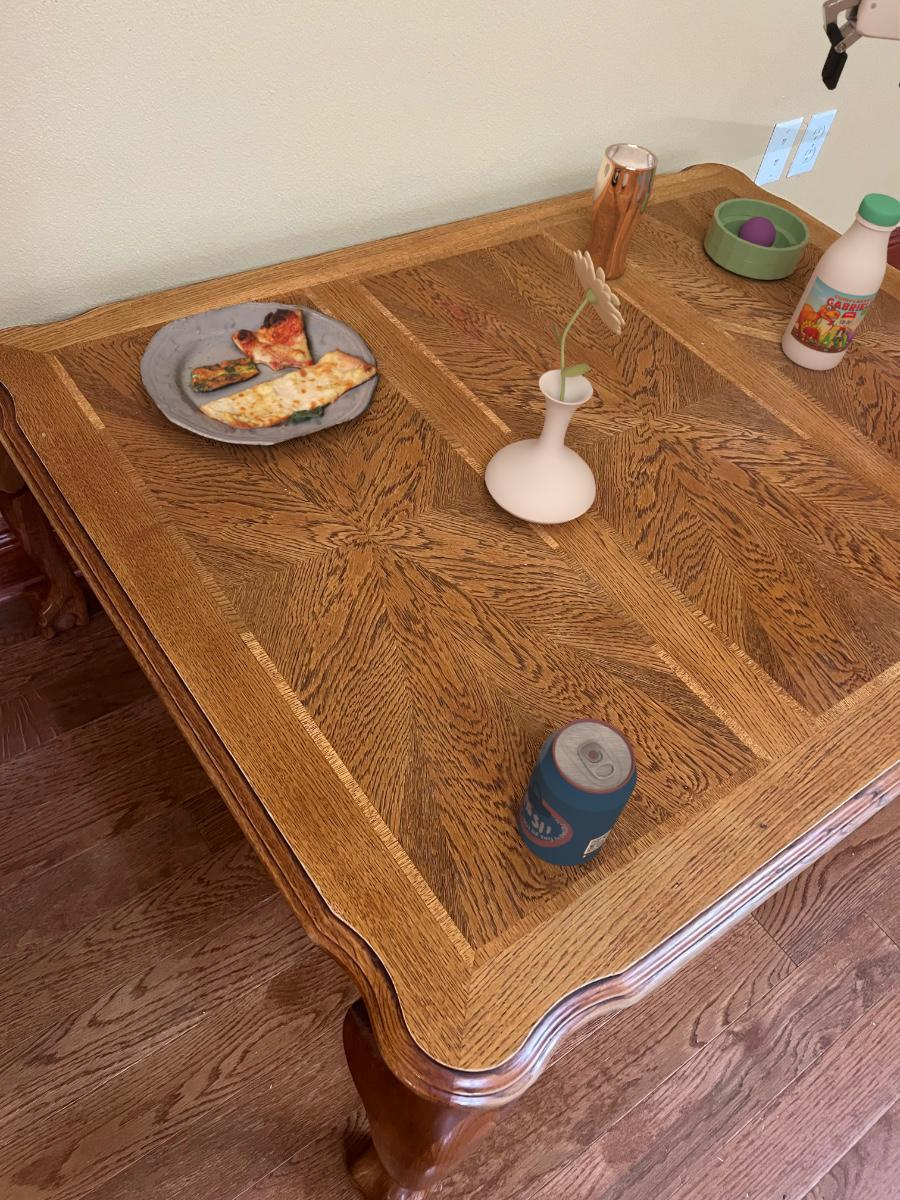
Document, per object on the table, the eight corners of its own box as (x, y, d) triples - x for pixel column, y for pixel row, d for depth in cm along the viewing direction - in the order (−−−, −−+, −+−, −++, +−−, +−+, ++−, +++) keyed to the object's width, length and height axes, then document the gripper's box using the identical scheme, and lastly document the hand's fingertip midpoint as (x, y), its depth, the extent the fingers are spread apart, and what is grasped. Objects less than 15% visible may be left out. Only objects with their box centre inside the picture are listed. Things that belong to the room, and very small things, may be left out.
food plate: (312, 298, 113) (312, 272, 111) (417, 412, 102) (420, 386, 100) (110, 352, 103) (105, 325, 100) (203, 486, 92) (200, 459, 89)
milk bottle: (767, 338, 119) (836, 186, 104) (817, 331, 122) (891, 182, 106) (801, 376, 115) (878, 223, 100) (852, 368, 117) (934, 218, 102)
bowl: (781, 235, 137) (795, 202, 133) (806, 287, 128) (821, 254, 124) (694, 227, 135) (705, 194, 131) (713, 279, 127) (726, 245, 123)
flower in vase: (597, 538, 93) (672, 324, 74) (484, 530, 92) (530, 310, 73) (584, 450, 102) (649, 236, 82) (480, 441, 101) (521, 222, 81)
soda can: (497, 814, 73) (524, 735, 64) (567, 776, 76) (603, 695, 67) (547, 889, 70) (584, 817, 61) (619, 847, 73) (664, 772, 63)
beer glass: (568, 254, 126) (594, 142, 115) (615, 251, 128) (645, 141, 117) (588, 283, 122) (617, 171, 111) (635, 280, 124) (669, 169, 113)
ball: (763, 244, 133) (775, 210, 129) (772, 263, 130) (785, 230, 126) (729, 242, 133) (740, 208, 129) (737, 261, 129) (749, 227, 126)
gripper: (999, -85, 102) (923, 81, 115) (848, -101, 101) (788, 69, 114) (1028, -62, 97) (946, 108, 111) (870, -79, 96) (805, 96, 109)
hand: (866, 88), depth 112 cm, fingers open, 9 cm apart
